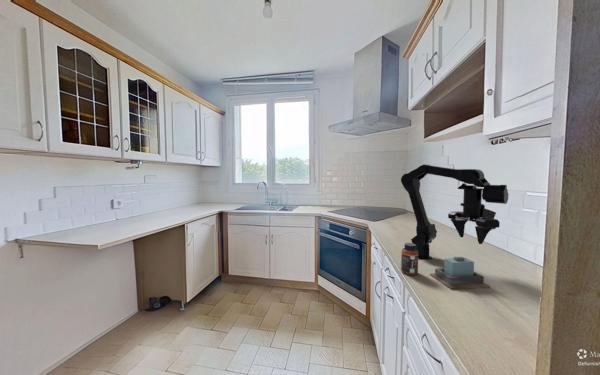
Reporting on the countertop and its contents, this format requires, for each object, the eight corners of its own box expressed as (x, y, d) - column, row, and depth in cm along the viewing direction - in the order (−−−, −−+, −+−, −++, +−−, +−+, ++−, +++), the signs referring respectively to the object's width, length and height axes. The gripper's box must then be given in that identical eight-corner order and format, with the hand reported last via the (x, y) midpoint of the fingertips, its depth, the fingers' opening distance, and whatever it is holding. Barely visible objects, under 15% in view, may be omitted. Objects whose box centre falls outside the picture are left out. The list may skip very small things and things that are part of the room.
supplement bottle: (417, 277, 87) (418, 247, 87) (399, 273, 90) (400, 244, 90) (418, 271, 92) (419, 243, 92) (402, 268, 96) (402, 241, 95)
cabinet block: (443, 277, 86) (444, 255, 85) (464, 276, 86) (465, 255, 86) (451, 282, 82) (452, 260, 81) (473, 281, 82) (474, 259, 82)
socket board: (430, 275, 89) (430, 267, 89) (464, 273, 90) (464, 265, 90) (450, 289, 78) (451, 280, 78) (489, 287, 79) (490, 278, 79)
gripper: (514, 204, 83) (512, 247, 84) (472, 198, 102) (470, 233, 103) (485, 204, 82) (483, 248, 83) (447, 198, 101) (446, 234, 102)
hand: (470, 240), depth 93 cm, fingers open, 9 cm apart
